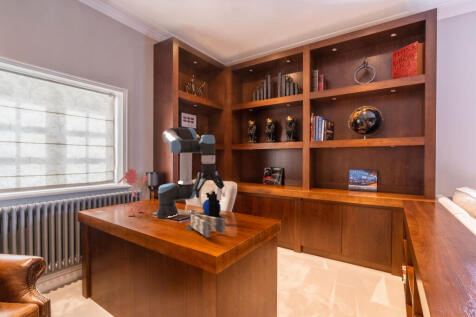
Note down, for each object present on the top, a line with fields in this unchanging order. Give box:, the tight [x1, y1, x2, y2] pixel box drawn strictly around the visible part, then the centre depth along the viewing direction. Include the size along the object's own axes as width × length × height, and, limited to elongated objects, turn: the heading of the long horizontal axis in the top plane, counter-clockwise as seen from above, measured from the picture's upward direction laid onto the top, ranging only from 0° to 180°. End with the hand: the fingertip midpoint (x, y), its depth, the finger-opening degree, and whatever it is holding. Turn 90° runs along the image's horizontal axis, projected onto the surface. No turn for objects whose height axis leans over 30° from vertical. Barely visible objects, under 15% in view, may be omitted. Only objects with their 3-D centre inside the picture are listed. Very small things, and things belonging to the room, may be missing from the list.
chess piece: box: [205, 191, 222, 218], centre depth 151 cm, size 8×8×20 cm
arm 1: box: [190, 214, 211, 238], centre depth 130 cm, size 22×2×7 cm, turn 34°
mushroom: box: [202, 198, 222, 216], centre depth 169 cm, size 14×14×15 cm
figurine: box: [117, 168, 150, 217], centre depth 178 cm, size 15×26×35 cm, turn 161°
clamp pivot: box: [186, 209, 196, 231], centre depth 141 cm, size 5×5×11 cm
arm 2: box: [194, 213, 226, 234], centre depth 134 cm, size 22×2×7 cm, turn 54°
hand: (209, 201), depth 128 cm, fingers open, 13 cm apart
